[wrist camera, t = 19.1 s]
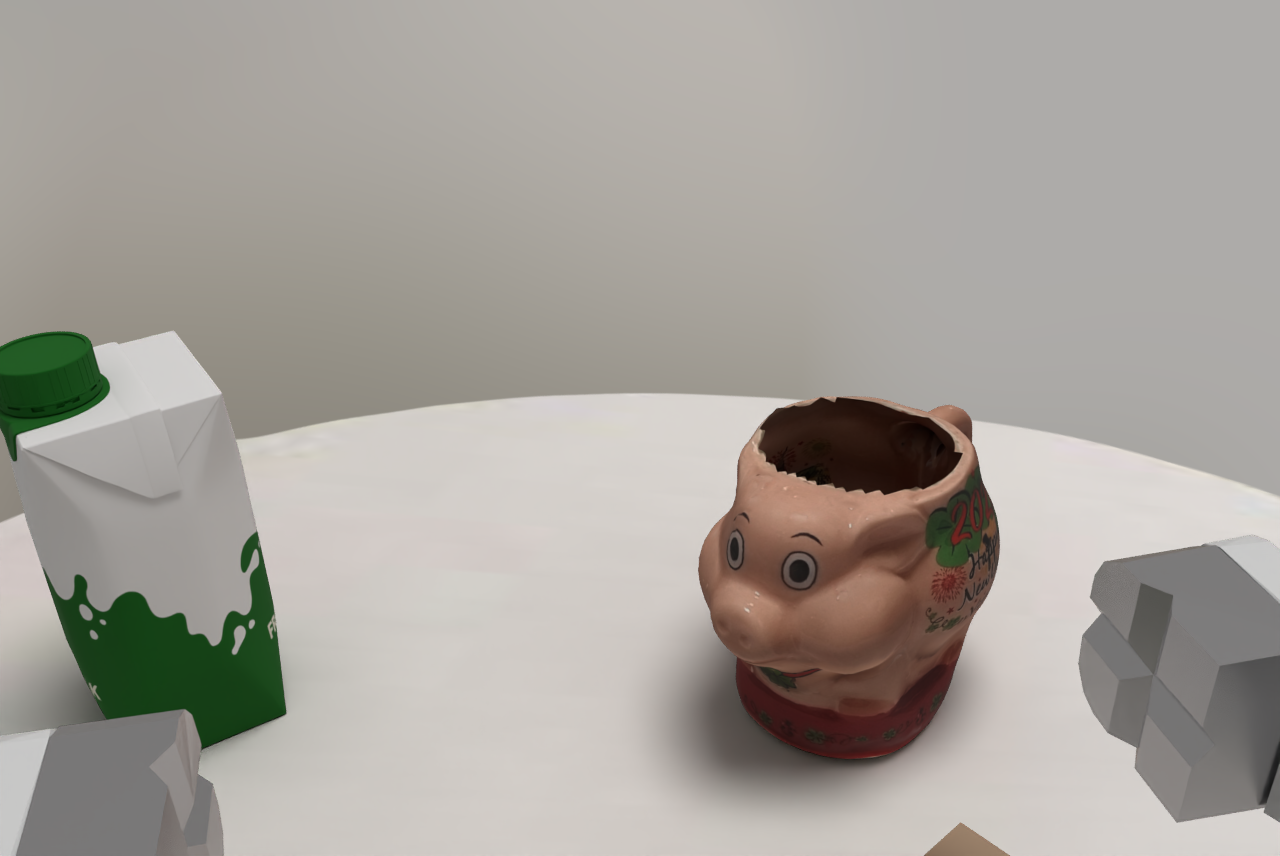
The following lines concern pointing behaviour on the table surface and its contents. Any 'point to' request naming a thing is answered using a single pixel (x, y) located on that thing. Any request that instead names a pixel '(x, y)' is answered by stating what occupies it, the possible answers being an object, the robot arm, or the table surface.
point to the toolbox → (964, 844)
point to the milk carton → (143, 527)
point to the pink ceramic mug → (851, 570)
